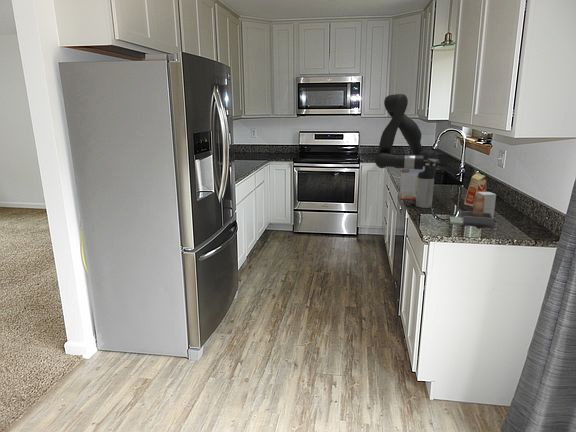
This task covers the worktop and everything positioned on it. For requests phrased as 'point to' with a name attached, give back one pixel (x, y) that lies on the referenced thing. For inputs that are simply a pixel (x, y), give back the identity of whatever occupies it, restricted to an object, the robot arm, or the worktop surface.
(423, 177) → the robot arm
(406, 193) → the cracker box
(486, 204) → the supplement box
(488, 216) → the cart bed
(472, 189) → the milk carton
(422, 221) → the worktop surface
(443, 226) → the worktop surface
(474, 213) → the yam
